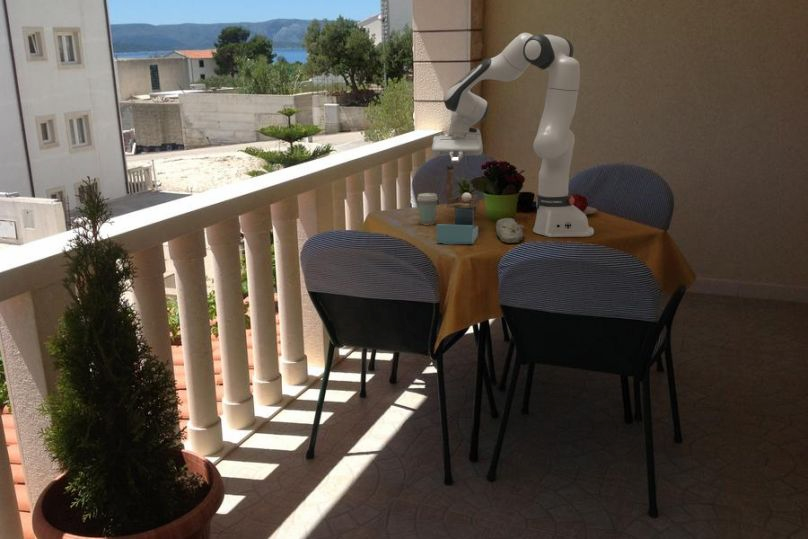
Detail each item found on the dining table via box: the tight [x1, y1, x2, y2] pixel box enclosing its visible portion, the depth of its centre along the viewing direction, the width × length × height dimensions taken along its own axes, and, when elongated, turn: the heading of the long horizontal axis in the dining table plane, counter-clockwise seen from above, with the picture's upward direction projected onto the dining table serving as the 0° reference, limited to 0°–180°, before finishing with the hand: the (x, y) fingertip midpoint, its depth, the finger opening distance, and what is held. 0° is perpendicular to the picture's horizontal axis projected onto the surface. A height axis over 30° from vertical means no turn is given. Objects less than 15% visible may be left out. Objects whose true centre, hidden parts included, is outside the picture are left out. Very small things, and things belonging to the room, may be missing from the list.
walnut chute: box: [445, 163, 480, 211], centre depth 277 cm, size 12×20×18 cm, turn 166°
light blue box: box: [435, 223, 479, 245], centre depth 267 cm, size 13×13×7 cm
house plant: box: [453, 176, 477, 195], centre depth 316 cm, size 14×14×16 cm
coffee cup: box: [416, 192, 439, 225], centre depth 295 cm, size 8×8×12 cm
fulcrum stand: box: [454, 208, 475, 226], centre depth 280 cm, size 10×6×9 cm, turn 76°
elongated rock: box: [495, 217, 525, 244], centre depth 276 cm, size 35×5×10 cm
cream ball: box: [462, 192, 472, 203], centre depth 284 cm, size 4×4×4 cm
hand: (455, 162), depth 287 cm, fingers closed
